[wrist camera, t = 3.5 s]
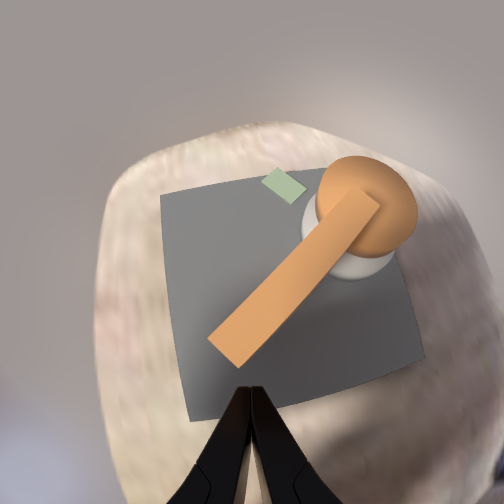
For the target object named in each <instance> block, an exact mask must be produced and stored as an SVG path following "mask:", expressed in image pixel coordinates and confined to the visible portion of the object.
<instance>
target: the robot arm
mask: <svg viewBox="0 0 504 504" xmlns="http://www.w3.org/2000/svg"><path fill="white" fill-rule="evenodd" d="M251 430H252V432H251ZM251 444H252V445H253V451H254V457H255V462H256V468H257V473H258V478H259V483H260V489H261V494H262V499H263V504H343V503H342V502H341V501H340V500H339V499H338V498H337V497H336V496H335V495H334V494H333V493H332V492H331V490H330V489H329V488H328V487H327V486H326V485H325V484H324V482H323V481H322V480H321V478H320V477H319V476H318V474H317V473H316V472H315V470H314V469H313V467H312V466H311V464H310V463H309V462H308V461H307V458H306V457H305V455H304V453H303V452H302V450H301V449H300V447H299V446H298V444H297V442H296V441H295V439H294V438H293V436H292V434H291V433H290V431H289V429H288V428H287V426H286V424H285V423H284V421H283V420H282V418H281V416H280V415H279V413H278V411H277V409H276V408H275V406H274V404H273V403H272V401H271V399H270V398H269V396H268V394H267V392H266V391H265V389H264V387H263V386H251V387H249V386H238V387H237V388H236V390H235V392H234V394H233V396H232V398H231V400H230V402H229V403H228V405H227V407H226V409H225V411H224V413H223V415H222V416H221V418H220V420H219V422H218V424H217V426H216V427H215V429H214V431H213V433H212V435H211V437H210V438H209V440H208V442H207V444H206V445H205V447H204V449H203V451H202V452H201V454H200V456H199V458H198V459H197V461H196V464H194V466H193V468H192V469H191V471H190V473H189V474H188V476H187V477H186V479H185V481H184V482H183V484H182V485H181V486H180V487H179V489H178V490H177V491H176V493H175V494H174V495H173V496H172V497H171V499H170V500H169V501H168V502H167V503H166V504H244V502H245V494H246V486H247V478H248V470H249V462H250V454H251Z"/></svg>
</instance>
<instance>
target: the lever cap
mask: <svg viewBox="0 0 504 504" xmlns="http://www.w3.org/2000/svg"><path fill="white" fill-rule="evenodd" d="M315 212H316V217H317V220H318V222H319V224H318V225H317V226H316V227H315V228H314V229H313V230H312V231H311V232H310V233H309V234H308V235H307V237H306V238H305V239H304V240H303V241H302V242H301V243H300V244H299V245H298V246H297V247H296V248H295V249H294V250H293V251H292V252H291V253H290V255H289V256H288V257H287V258H286V259H285V260H284V261H283V262H282V263H281V264H280V265H279V266H278V267H277V268H276V269H275V270H274V271H273V272H272V273H271V274H270V275H269V276H268V277H267V278H266V279H265V281H264V282H263V283H262V284H261V285H260V286H259V287H258V288H257V289H256V290H255V291H254V292H253V293H252V294H251V295H250V296H249V297H248V298H247V299H246V300H245V301H244V302H243V303H242V304H241V305H240V306H239V307H238V308H237V309H236V310H235V311H234V312H233V313H232V314H231V315H230V316H229V317H228V318H227V319H226V320H225V321H224V322H223V323H222V324H221V325H220V326H219V327H218V328H217V329H216V330H215V331H214V332H213V333H212V334H211V335H210V336H209V337H208V338H207V339H208V340H209V341H210V342H211V343H212V344H213V345H214V346H215V347H216V348H217V349H218V350H220V351H221V352H222V353H223V354H224V355H225V356H226V357H227V358H228V359H229V360H230V361H231V362H232V363H233V364H234V365H235V366H236V367H237V368H240V367H242V366H244V365H245V364H246V363H247V362H248V361H249V360H250V359H251V358H252V357H253V356H254V355H255V354H256V353H257V351H258V350H259V349H260V348H261V347H262V346H263V345H264V344H265V343H266V342H267V341H268V340H269V339H270V338H271V337H272V336H273V335H274V334H275V333H276V332H277V330H278V329H279V328H280V327H281V326H282V325H283V324H284V323H285V322H286V321H287V320H288V319H289V317H290V316H291V315H292V314H293V313H294V312H295V311H296V310H297V309H298V307H299V306H300V305H301V304H302V303H303V302H304V301H305V300H306V298H307V297H308V296H309V295H310V294H311V293H312V292H313V290H314V289H315V288H316V287H317V286H318V285H319V283H320V282H321V281H322V280H323V279H324V278H325V276H326V275H327V274H328V273H329V272H330V271H331V269H332V268H333V267H334V266H335V265H336V263H337V262H338V261H339V260H340V258H341V257H342V256H343V255H344V253H345V252H347V253H349V254H352V255H354V256H357V257H361V258H371V259H373V258H380V257H384V256H386V255H388V254H390V253H391V252H393V251H394V250H395V249H396V248H397V247H399V246H400V245H401V244H402V243H403V242H404V241H405V240H406V239H407V238H408V237H409V236H410V235H411V234H412V232H413V230H414V228H415V226H416V222H417V205H416V201H415V198H414V196H413V193H412V191H411V189H410V188H409V186H408V185H407V183H406V182H405V181H404V179H403V178H402V177H401V176H400V175H399V174H398V173H397V172H396V171H394V170H393V169H392V168H390V167H389V166H387V165H386V164H384V163H382V162H380V161H378V160H375V159H372V158H368V157H363V156H349V157H344V158H341V159H339V160H337V161H335V162H333V163H332V164H331V165H330V166H329V167H328V168H327V169H326V171H325V172H324V174H323V177H322V180H321V182H320V185H319V188H318V191H317V194H316V198H315Z"/></svg>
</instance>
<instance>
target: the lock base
mask: <svg viewBox="0 0 504 504" xmlns="http://www.w3.org/2000/svg"><path fill="white" fill-rule="evenodd" d="M326 169H327V168H319V169H311V170H302V171H295V172H287V173H285V172H284V171H282V170H281V169H279V168H278V167H277V168H276V169H275V170H274V171H273V172H271V173H270V174H269V175H266V176H259V177H253V178H247V179H241V180H235V181H229V182H224V183H218V184H213V185H207V186H202V187H197V188H192V189H187V190H182V191H178V192H173V193H169V194H164V195H160V204H161V223H162V239H163V252H164V263H165V273H166V283H167V292H168V300H169V308H170V316H171V323H172V330H173V337H174V343H175V349H176V355H177V361H178V367H179V372H180V377H181V382H182V388H183V392H184V397H185V402H186V407H187V411H188V416H189V420H190V422H195V421H204V420H212V419H220V418H221V416H222V415H223V413H224V411H225V409H226V407H227V405H228V403H229V402H230V400H231V398H232V396H233V394H234V392H235V390H236V388H237V387H238V386H249V387H251V386H263V387H264V389H265V391H266V392H267V394H268V396H269V398H270V399H271V401H272V403H273V404H274V406H275V408H280V407H285V406H289V405H293V404H297V403H301V402H305V401H309V400H312V399H316V398H319V397H323V396H326V395H329V394H333V393H336V392H339V391H342V390H345V389H348V388H351V387H354V386H357V385H360V384H363V383H366V382H368V381H371V380H374V379H376V378H379V377H381V376H384V375H386V374H389V373H391V372H394V371H396V370H399V369H401V368H403V367H406V366H408V365H410V364H412V363H414V362H417V361H419V360H421V359H423V358H425V355H424V350H423V346H422V341H421V337H420V333H419V329H418V325H417V321H416V318H415V314H414V310H413V307H412V303H411V300H410V297H409V293H408V290H407V287H406V284H405V281H404V277H403V274H402V271H401V269H400V266H399V263H398V260H397V257H396V254H395V250H396V249H395V250H394V251H393V252H391V253H390V254H388V255H386V256H384V257H380V258H373V259H371V258H361V257H357V256H354V255H352V254H349V253H347V252H345V253H344V255H343V256H342V257H341V258H340V260H339V261H338V262H337V263H336V265H335V266H334V267H333V268H332V269H331V271H330V272H329V273H328V274H327V275H326V276H325V278H324V279H323V280H322V281H321V282H320V283H319V285H318V286H317V287H316V288H315V289H314V290H313V292H312V293H311V294H310V295H309V296H308V297H307V298H306V300H305V301H304V302H303V303H302V304H301V305H300V306H299V307H298V309H297V310H296V311H295V312H294V313H293V314H292V315H291V316H290V317H289V319H288V320H287V321H286V322H285V323H284V324H283V325H282V326H281V327H280V328H279V329H278V330H277V332H276V333H275V334H274V335H273V336H272V337H271V338H270V339H269V340H268V341H267V342H266V343H265V344H264V345H263V346H262V347H261V348H260V349H259V350H258V351H257V353H256V354H255V355H254V356H253V357H252V358H251V359H250V360H249V361H248V362H247V363H246V364H245V365H244V366H242V367H240V368H237V367H236V366H235V365H234V364H233V363H232V362H231V361H230V360H229V359H228V358H227V357H226V356H225V355H224V354H223V353H222V352H221V351H220V350H218V349H217V348H216V347H215V346H214V345H213V344H212V343H211V342H210V341H209V340H208V339H207V338H208V337H209V336H210V335H211V334H212V333H213V332H214V331H215V330H216V329H217V328H218V327H219V326H220V325H221V324H222V323H223V322H224V321H225V320H226V319H227V318H228V317H229V316H230V315H231V314H232V313H233V312H234V311H235V310H236V309H237V308H238V307H239V306H240V305H241V304H242V303H243V302H244V301H245V300H246V299H247V298H248V297H249V296H250V295H251V294H252V293H253V292H254V291H255V290H256V289H257V288H258V287H259V286H260V285H261V284H262V283H263V282H264V281H265V279H266V278H267V277H268V276H269V275H270V274H271V273H272V272H273V271H274V270H275V269H276V268H277V267H278V266H279V265H280V264H281V263H282V262H283V261H284V260H285V259H286V258H287V257H288V256H289V255H290V253H291V252H292V251H293V250H294V249H295V248H296V247H297V246H298V245H299V244H300V243H301V242H302V241H303V240H304V239H305V238H306V237H307V235H308V234H309V233H310V232H311V231H312V230H313V229H314V228H315V227H316V226H317V225H318V224H319V222H318V220H317V217H316V212H315V198H316V194H317V191H318V188H319V185H320V182H321V180H322V177H323V174H324V172H325V171H326Z"/></svg>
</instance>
